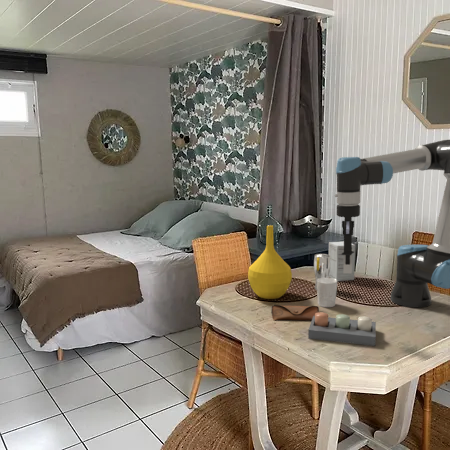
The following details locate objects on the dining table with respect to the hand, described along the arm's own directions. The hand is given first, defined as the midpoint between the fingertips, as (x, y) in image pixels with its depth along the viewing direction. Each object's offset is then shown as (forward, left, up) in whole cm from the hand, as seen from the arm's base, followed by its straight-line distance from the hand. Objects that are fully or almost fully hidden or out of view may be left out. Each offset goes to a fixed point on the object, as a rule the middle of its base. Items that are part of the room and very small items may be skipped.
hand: (347, 272), depth 159 cm
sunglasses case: (+18, -5, -20) cm, 28 cm away
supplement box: (+6, -61, -20) cm, 64 cm away
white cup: (+9, -22, -20) cm, 31 cm away
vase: (+33, -27, -20) cm, 47 cm away
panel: (+1, +6, -20) cm, 21 cm away
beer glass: (+13, -42, -20) cm, 48 cm away
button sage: (+1, +6, -17) cm, 19 cm away
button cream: (-6, +6, -18) cm, 20 cm away
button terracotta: (+8, +6, -17) cm, 20 cm away
